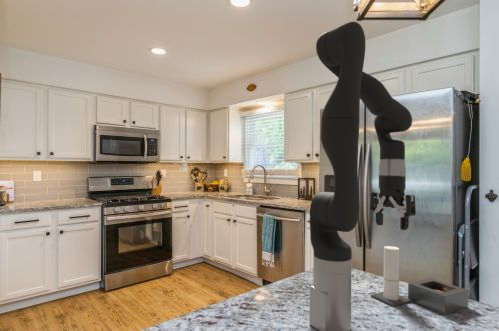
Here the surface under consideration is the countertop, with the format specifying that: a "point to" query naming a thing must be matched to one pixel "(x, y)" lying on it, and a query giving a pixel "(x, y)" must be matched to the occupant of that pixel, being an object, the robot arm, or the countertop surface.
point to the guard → (438, 295)
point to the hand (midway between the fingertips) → (391, 227)
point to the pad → (391, 302)
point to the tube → (391, 273)
